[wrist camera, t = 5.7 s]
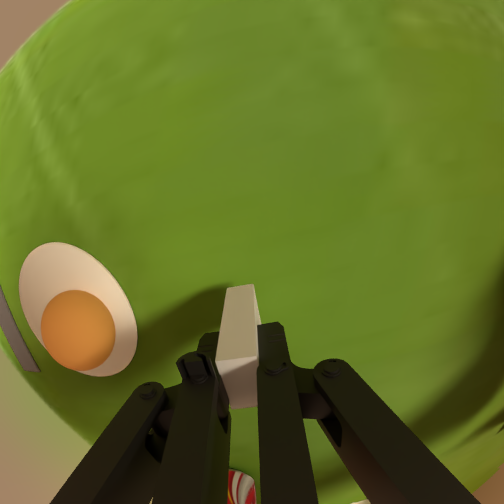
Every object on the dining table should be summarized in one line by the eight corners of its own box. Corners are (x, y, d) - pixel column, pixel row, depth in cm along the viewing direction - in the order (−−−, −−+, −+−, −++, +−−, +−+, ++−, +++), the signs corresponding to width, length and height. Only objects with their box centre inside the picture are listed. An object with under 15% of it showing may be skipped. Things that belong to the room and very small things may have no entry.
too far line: (-8, 261, 17) (-10, 261, 17) (40, 371, 20) (39, 372, 20) (-21, 265, 17) (-22, 266, 17) (25, 369, 21) (24, 370, 20)
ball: (72, 276, 18) (114, 277, 16) (97, 337, 20) (142, 349, 18) (17, 308, 13) (48, 318, 11) (51, 374, 15) (91, 397, 13)
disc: (106, 226, 16) (105, 226, 16) (159, 374, 20) (159, 376, 20) (4, 256, 17) (3, 257, 17) (55, 372, 20) (54, 373, 20)
